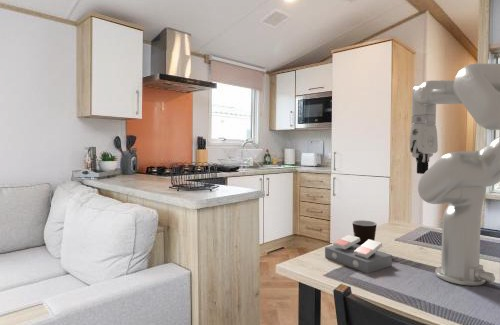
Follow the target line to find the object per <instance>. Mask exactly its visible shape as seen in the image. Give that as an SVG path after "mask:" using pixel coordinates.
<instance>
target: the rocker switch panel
mask: <svg viewBox="0 0 500 325" xmlns="http://www.w3.org/2000/svg"><path fill="white" fill-rule="evenodd" d="M360 246H361V245H357V244H354V245H352V246H350V247H349V248H347V249H345V250H344V249H341V248H338V247H335V246H334V245H330V246H329V245H328V246H326V247H324V258H327V259H328V260H332V261H334V262H337V263H340V264H342V265H345V266H347V267H350V268H352V269H355V270H357V271H360V272H362V273H365V274H370V273H374V272H376V271H379V270H382V269H386V268H389V267H392V266H393V265H392V264H393V262H392V261H393V255H392V254H390V253H387V252H383V251H380V250H377V251H376V252H375V253H373V254H372V255H371V256H370V257H369V258H367V259H366V258H364V257H361V256H358V255H355V254H354V251H355V250H356V249H357V248H358V247H360Z"/></svg>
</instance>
